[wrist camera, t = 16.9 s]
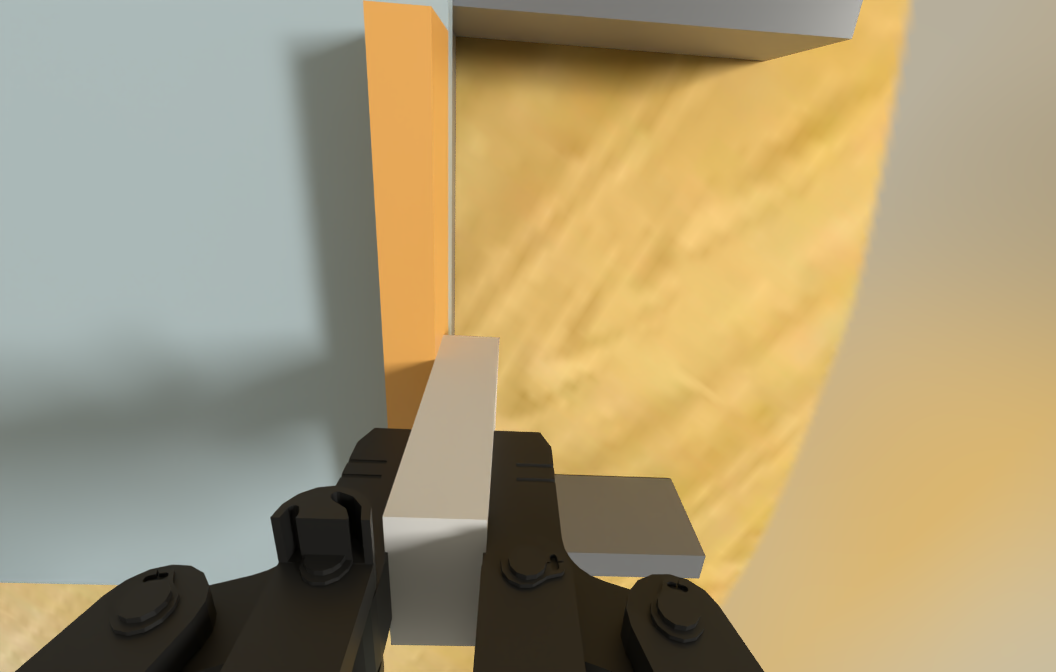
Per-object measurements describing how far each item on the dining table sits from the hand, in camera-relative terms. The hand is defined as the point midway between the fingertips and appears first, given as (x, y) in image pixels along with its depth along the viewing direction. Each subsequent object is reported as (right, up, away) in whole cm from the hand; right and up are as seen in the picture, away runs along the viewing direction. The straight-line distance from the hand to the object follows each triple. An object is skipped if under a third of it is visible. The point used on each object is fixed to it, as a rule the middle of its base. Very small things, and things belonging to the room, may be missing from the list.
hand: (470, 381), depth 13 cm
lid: (-10, +2, +1) cm, 10 cm away
